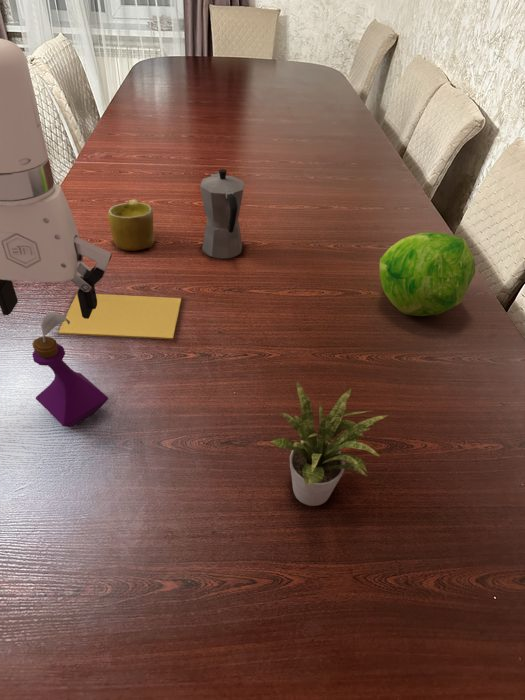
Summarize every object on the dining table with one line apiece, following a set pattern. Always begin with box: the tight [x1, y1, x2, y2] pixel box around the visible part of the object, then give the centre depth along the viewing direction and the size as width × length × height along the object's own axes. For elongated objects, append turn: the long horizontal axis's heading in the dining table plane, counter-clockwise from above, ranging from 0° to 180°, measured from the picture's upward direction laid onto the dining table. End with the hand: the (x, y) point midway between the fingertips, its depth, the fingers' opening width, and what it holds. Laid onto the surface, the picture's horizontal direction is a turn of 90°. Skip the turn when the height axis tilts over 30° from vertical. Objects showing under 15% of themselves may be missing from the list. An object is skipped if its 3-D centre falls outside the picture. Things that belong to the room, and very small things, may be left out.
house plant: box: [269, 380, 390, 507], centre depth 64 cm, size 14×14×16 cm
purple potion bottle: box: [31, 311, 109, 428], centre depth 72 cm, size 8×8×18 cm
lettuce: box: [379, 232, 476, 317], centre depth 99 cm, size 17×20×16 cm
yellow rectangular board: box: [57, 293, 182, 340], centre depth 96 cm, size 20×12×1 cm, turn 90°
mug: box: [107, 199, 155, 252], centre depth 114 cm, size 12×10×10 cm
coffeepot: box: [199, 168, 246, 260], centre depth 110 cm, size 15×9×18 cm, turn 19°
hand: (50, 310), depth 65 cm, fingers open, 9 cm apart
